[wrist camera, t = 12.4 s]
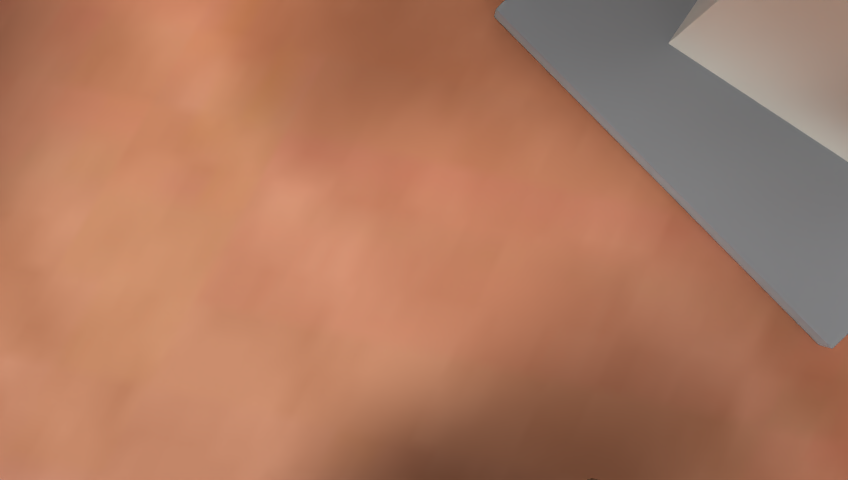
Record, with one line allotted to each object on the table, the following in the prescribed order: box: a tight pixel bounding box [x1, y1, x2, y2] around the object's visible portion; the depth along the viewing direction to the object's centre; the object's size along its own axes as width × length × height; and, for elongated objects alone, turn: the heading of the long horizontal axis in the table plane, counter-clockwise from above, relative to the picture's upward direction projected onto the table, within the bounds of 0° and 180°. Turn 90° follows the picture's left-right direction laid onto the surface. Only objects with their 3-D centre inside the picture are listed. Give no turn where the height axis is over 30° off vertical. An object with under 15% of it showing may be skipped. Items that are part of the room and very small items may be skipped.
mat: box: [494, 0, 848, 348], centre depth 17 cm, size 14×14×1 cm
